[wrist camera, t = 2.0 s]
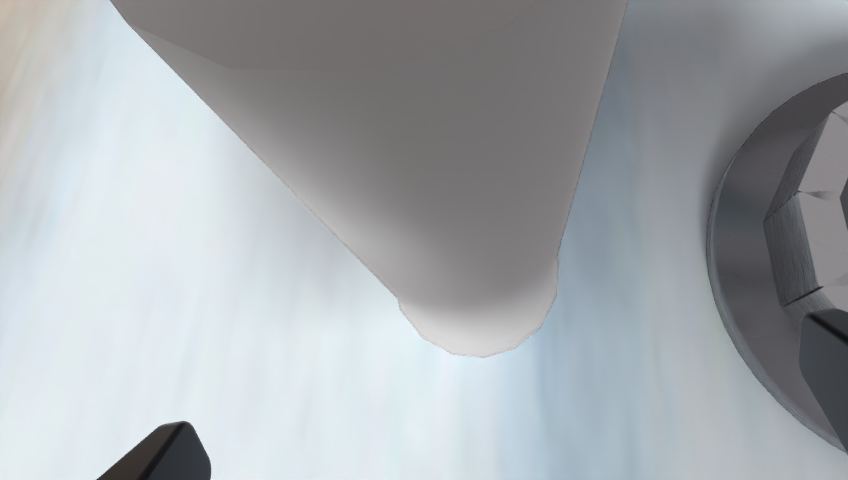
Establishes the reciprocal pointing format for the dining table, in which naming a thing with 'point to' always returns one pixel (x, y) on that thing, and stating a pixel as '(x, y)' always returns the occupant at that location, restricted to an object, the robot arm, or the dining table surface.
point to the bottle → (413, 134)
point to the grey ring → (784, 240)
